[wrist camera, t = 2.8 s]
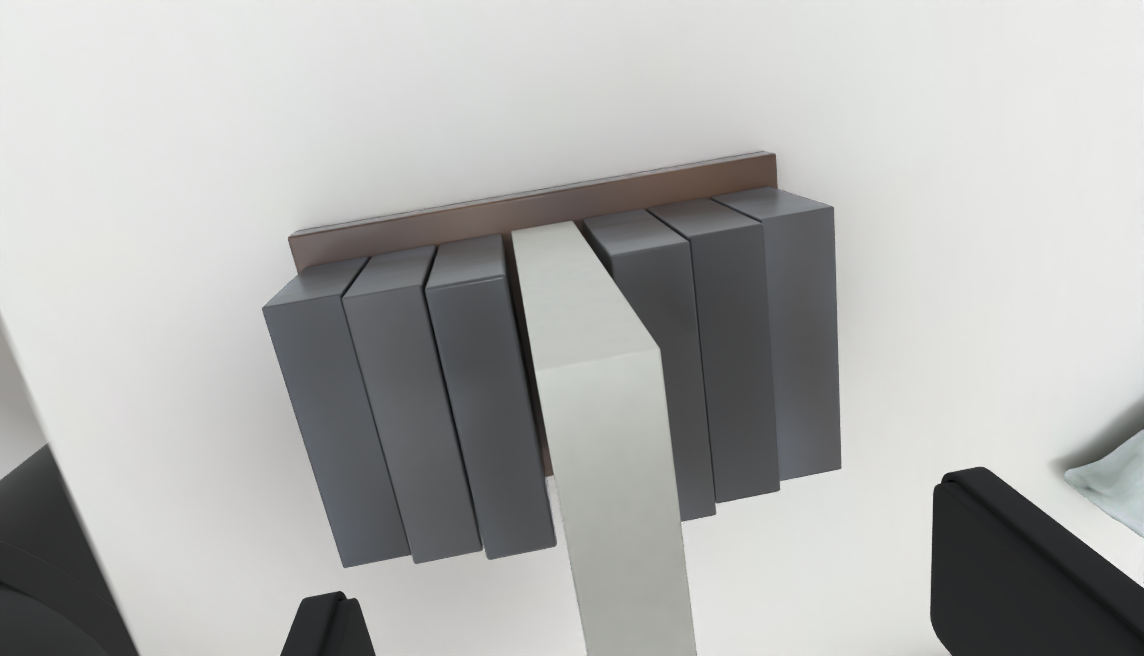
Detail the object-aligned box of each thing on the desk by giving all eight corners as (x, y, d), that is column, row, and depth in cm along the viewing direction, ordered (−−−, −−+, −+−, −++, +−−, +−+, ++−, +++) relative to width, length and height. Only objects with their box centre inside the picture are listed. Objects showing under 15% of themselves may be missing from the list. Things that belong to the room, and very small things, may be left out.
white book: (551, 451, 25) (604, 750, 13) (510, 230, 22) (534, 371, 11) (606, 440, 25) (706, 728, 14) (572, 220, 22) (660, 347, 11)
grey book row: (371, 497, 26) (334, 623, 19) (294, 231, 22) (221, 281, 16) (781, 417, 26) (869, 514, 20) (765, 150, 23) (864, 169, 17)
